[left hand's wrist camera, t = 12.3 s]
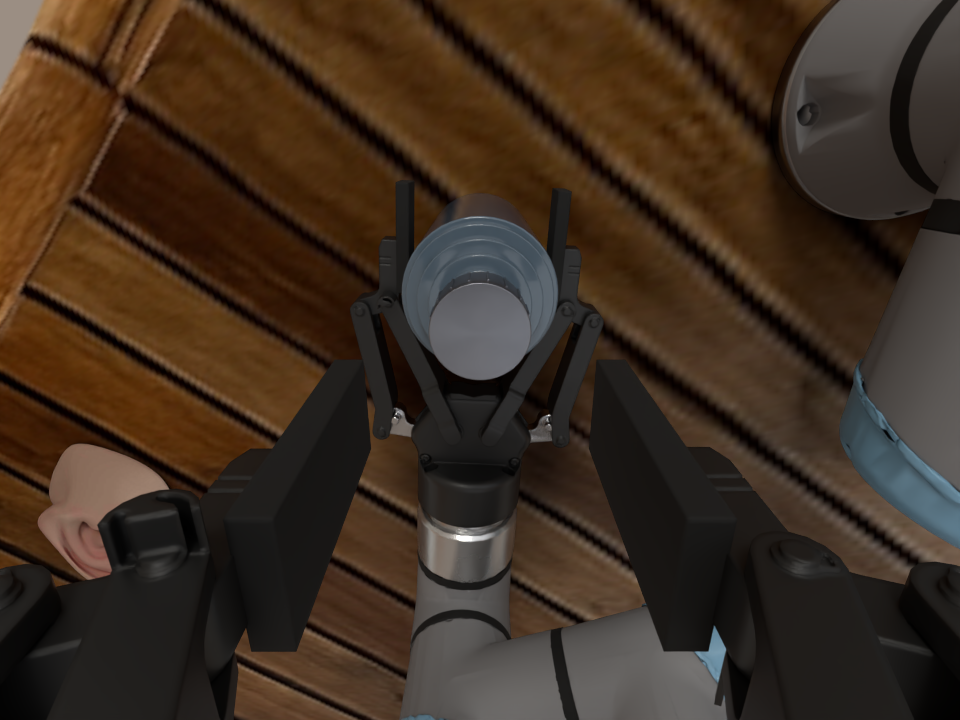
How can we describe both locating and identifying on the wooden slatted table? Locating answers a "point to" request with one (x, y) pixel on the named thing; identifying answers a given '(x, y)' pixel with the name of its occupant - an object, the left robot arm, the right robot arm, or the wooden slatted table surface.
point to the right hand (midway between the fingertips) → (483, 185)
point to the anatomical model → (91, 502)
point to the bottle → (480, 261)
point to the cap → (479, 326)
